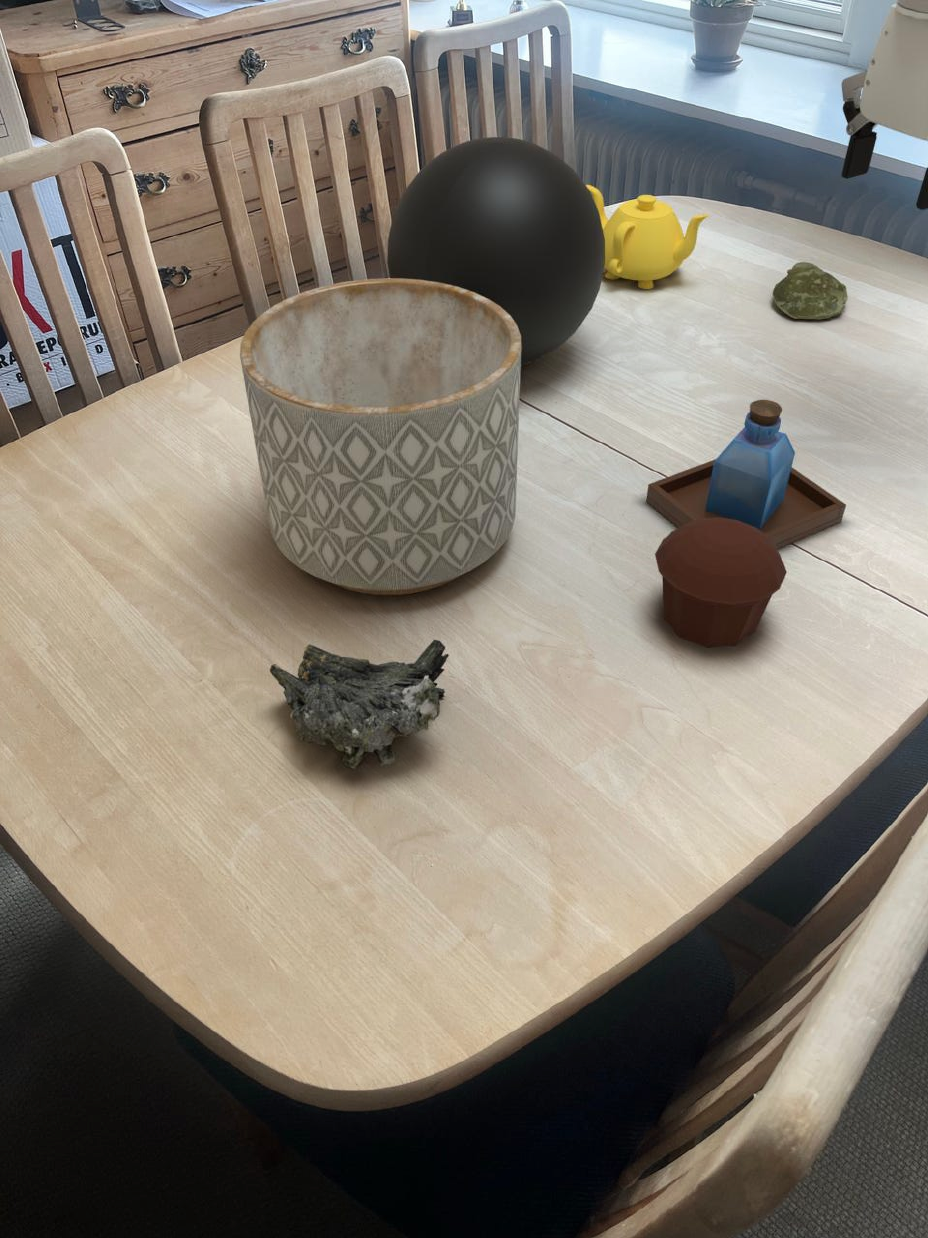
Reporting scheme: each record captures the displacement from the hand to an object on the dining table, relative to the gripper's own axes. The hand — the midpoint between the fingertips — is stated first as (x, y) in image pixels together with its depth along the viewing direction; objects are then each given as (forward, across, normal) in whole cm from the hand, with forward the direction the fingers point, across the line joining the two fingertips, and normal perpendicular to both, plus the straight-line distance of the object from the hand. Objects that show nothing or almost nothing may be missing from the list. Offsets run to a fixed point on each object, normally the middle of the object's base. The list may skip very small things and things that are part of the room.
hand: (890, 190), depth 101 cm
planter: (+28, +9, +53) cm, 61 cm away
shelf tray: (+28, -7, +19) cm, 35 cm away
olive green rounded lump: (+28, +26, -22) cm, 44 cm away
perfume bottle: (+28, -7, +19) cm, 34 cm away
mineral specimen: (+28, -13, +67) cm, 74 cm away
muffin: (+28, -18, +33) cm, 47 cm away
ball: (+28, +36, +24) cm, 52 cm away
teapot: (+28, +46, -7) cm, 55 cm away
